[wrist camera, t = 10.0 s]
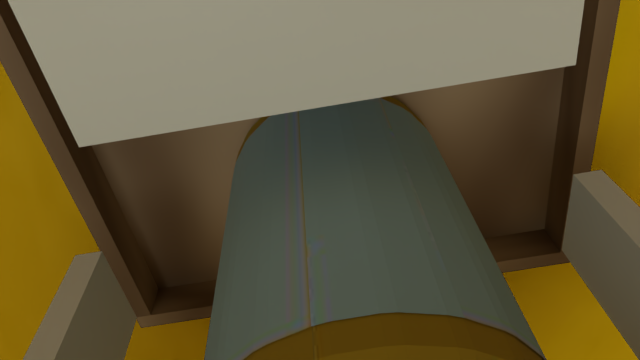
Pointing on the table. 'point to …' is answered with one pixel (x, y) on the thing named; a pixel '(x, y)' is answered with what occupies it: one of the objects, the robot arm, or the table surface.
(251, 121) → the tray
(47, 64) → the carton
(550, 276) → the table surface
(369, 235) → the bottle
